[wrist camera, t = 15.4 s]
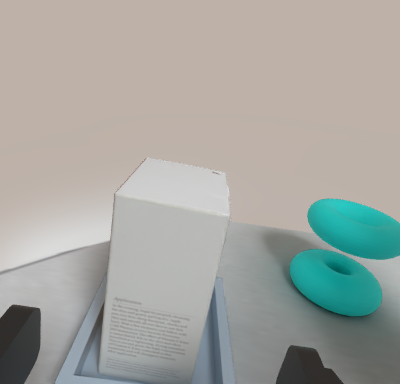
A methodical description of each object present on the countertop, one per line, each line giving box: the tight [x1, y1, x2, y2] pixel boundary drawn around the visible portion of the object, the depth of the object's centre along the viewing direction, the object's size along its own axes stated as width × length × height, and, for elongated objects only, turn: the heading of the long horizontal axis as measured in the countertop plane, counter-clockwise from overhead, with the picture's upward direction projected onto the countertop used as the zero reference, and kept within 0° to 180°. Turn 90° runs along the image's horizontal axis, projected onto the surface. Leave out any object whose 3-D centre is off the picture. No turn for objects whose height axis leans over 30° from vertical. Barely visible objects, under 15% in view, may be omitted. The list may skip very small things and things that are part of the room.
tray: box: [55, 270, 235, 384], centre depth 24 cm, size 11×13×3 cm
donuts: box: [290, 199, 400, 316], centre depth 34 cm, size 10×10×10 cm
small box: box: [98, 158, 231, 384], centre depth 22 cm, size 8×6×13 cm
